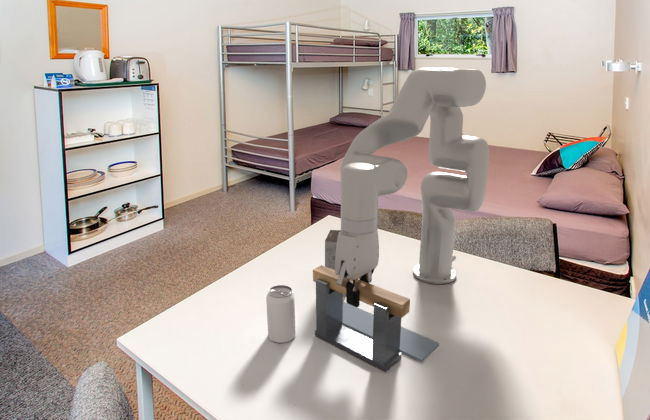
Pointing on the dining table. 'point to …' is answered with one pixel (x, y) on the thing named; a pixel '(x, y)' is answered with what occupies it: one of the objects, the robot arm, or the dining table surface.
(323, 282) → the rail rack
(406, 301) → the rail
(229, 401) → the dining table surface
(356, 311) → the mat
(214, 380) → the dining table surface
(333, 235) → the coffee box
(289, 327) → the can
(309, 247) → the dining table surface
